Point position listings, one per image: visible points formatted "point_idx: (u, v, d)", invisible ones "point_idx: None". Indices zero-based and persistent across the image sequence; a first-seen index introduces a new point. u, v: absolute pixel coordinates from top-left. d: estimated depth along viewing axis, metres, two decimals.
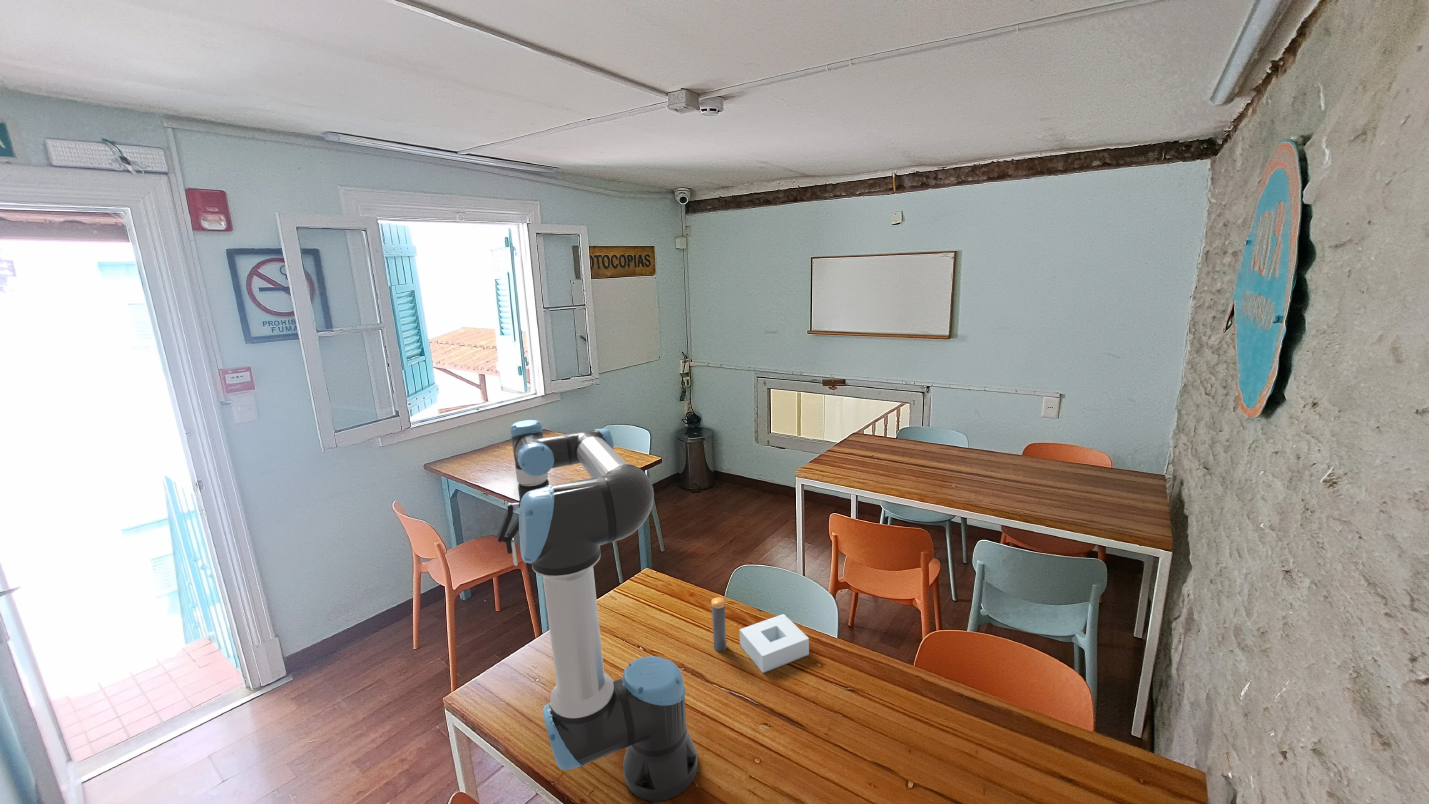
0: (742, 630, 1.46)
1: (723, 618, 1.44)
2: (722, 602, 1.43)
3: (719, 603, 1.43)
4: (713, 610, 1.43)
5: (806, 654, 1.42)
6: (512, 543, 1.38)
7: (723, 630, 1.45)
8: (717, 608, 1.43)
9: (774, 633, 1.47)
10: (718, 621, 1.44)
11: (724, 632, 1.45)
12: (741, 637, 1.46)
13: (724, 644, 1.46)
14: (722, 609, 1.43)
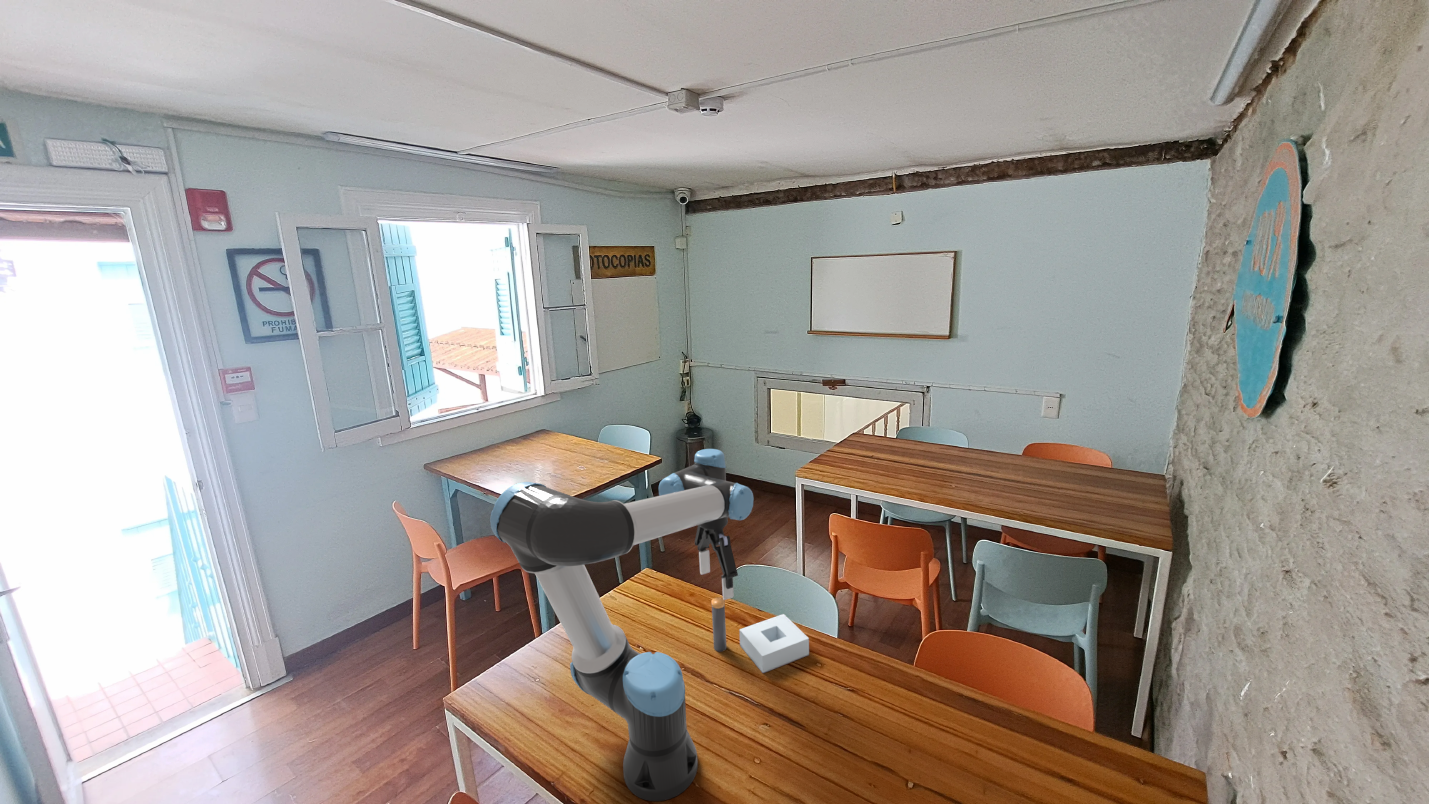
0: (742, 630, 1.46)
1: (723, 618, 1.44)
2: (722, 602, 1.43)
3: (719, 603, 1.43)
4: (713, 610, 1.43)
5: (806, 654, 1.42)
6: (699, 553, 1.47)
7: (723, 630, 1.45)
8: (717, 608, 1.43)
9: (774, 633, 1.47)
10: (718, 621, 1.44)
11: (724, 632, 1.45)
12: (741, 637, 1.46)
13: (724, 644, 1.46)
14: (722, 609, 1.43)
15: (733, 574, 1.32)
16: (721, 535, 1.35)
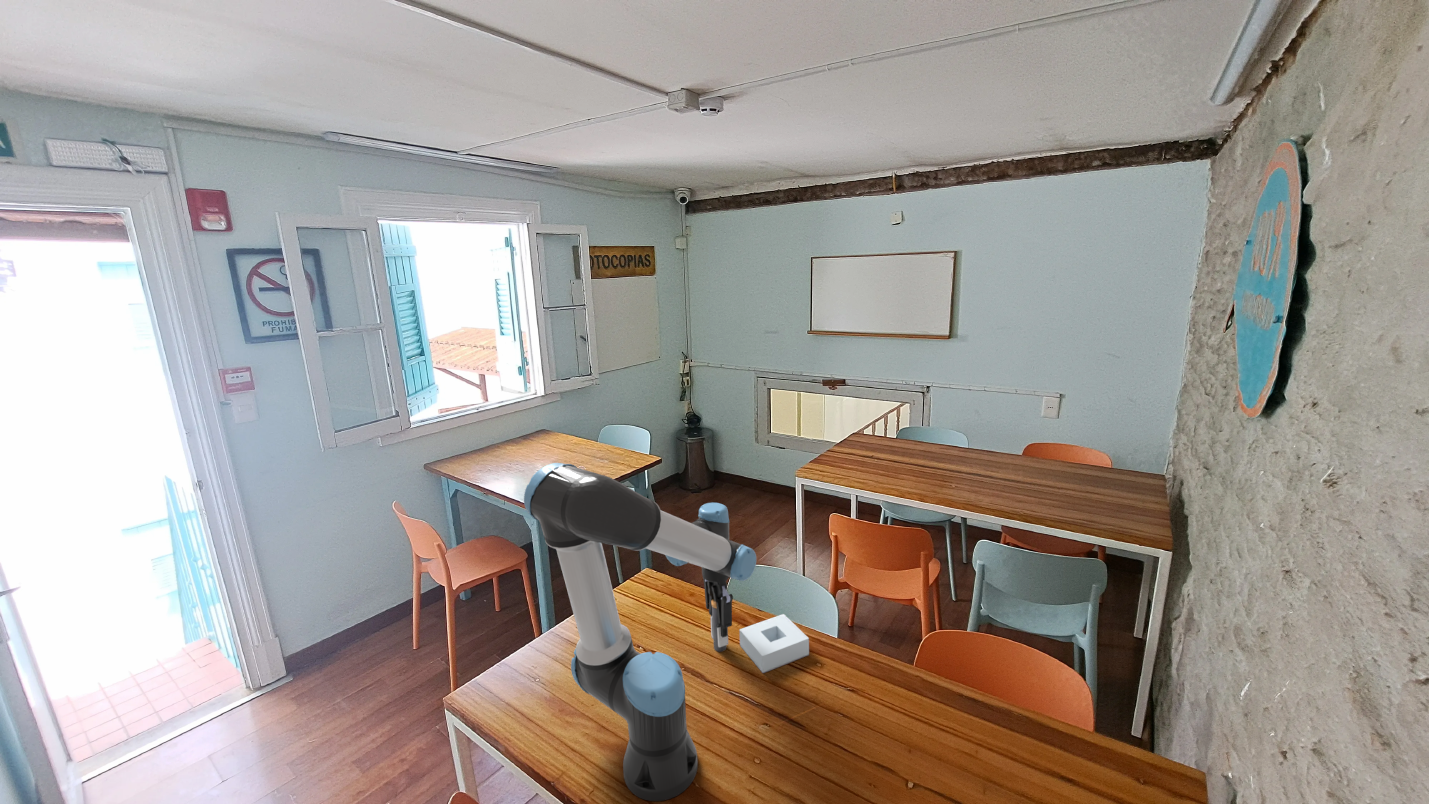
0: (742, 630, 1.46)
1: None
2: None
3: None
4: (713, 610, 1.43)
5: (806, 654, 1.42)
6: (710, 617, 1.47)
7: None
8: None
9: (774, 633, 1.47)
10: None
11: None
12: (741, 637, 1.46)
13: None
14: None
15: (727, 625, 1.40)
16: (725, 591, 1.39)
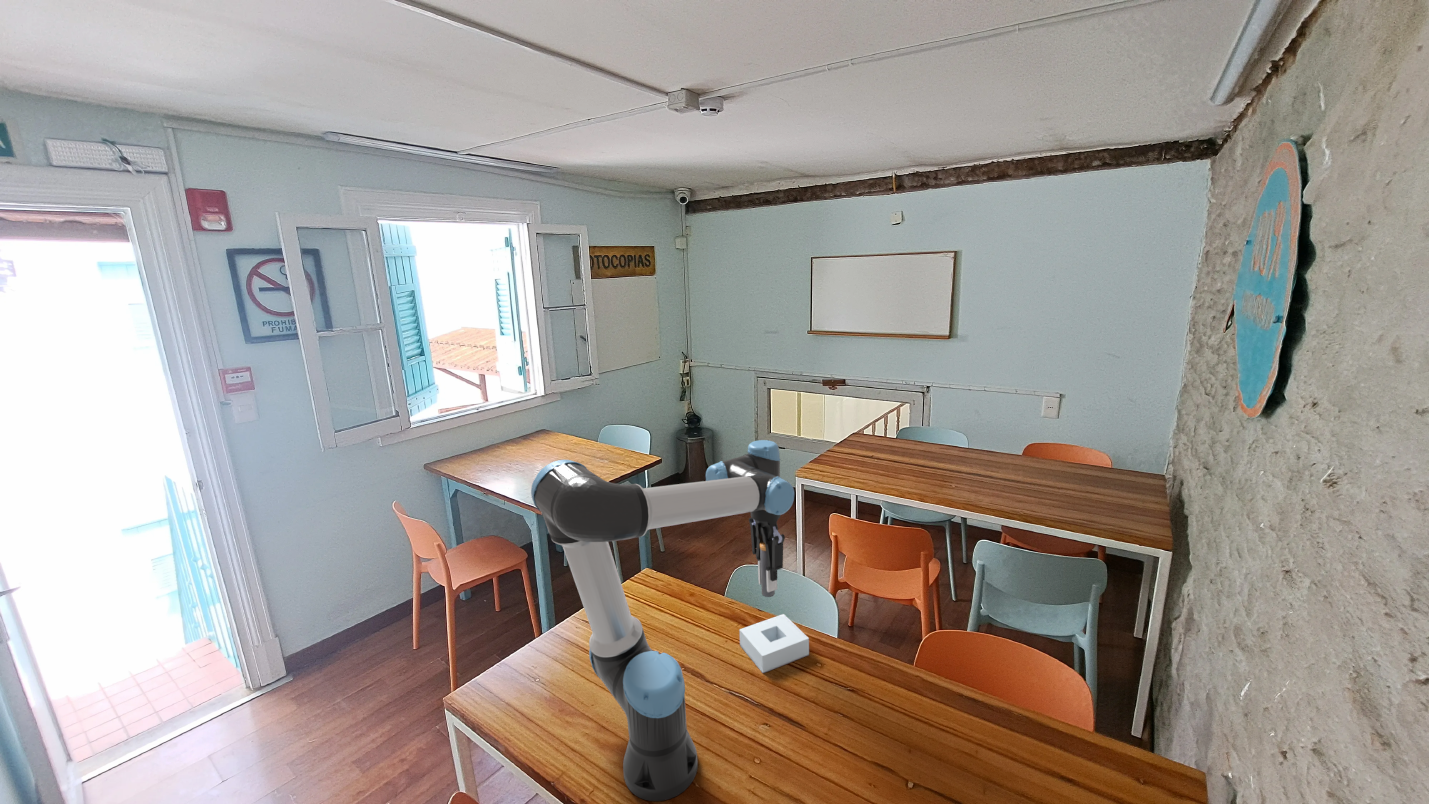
0: (742, 630, 1.46)
1: None
2: None
3: None
4: (762, 553, 1.38)
5: (806, 654, 1.42)
6: (758, 562, 1.41)
7: None
8: None
9: (774, 633, 1.47)
10: (767, 565, 1.38)
11: None
12: (741, 637, 1.46)
13: None
14: None
15: (778, 568, 1.35)
16: (776, 531, 1.33)
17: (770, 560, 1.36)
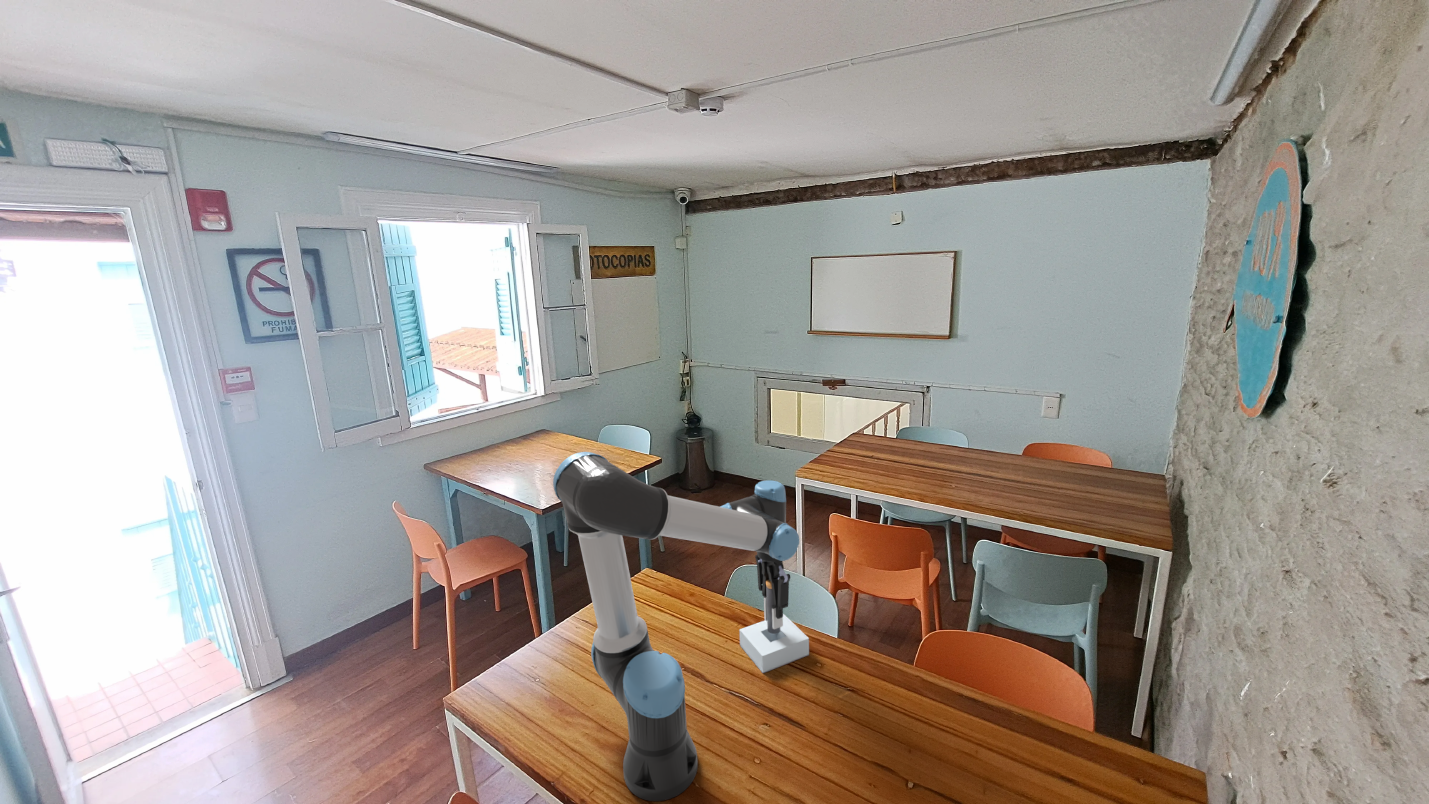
0: (742, 630, 1.46)
1: None
2: None
3: None
4: (768, 591, 1.40)
5: (806, 654, 1.42)
6: (764, 599, 1.43)
7: None
8: None
9: None
10: (773, 603, 1.40)
11: None
12: (741, 637, 1.46)
13: None
14: None
15: (783, 606, 1.37)
16: (782, 570, 1.35)
17: (776, 598, 1.38)
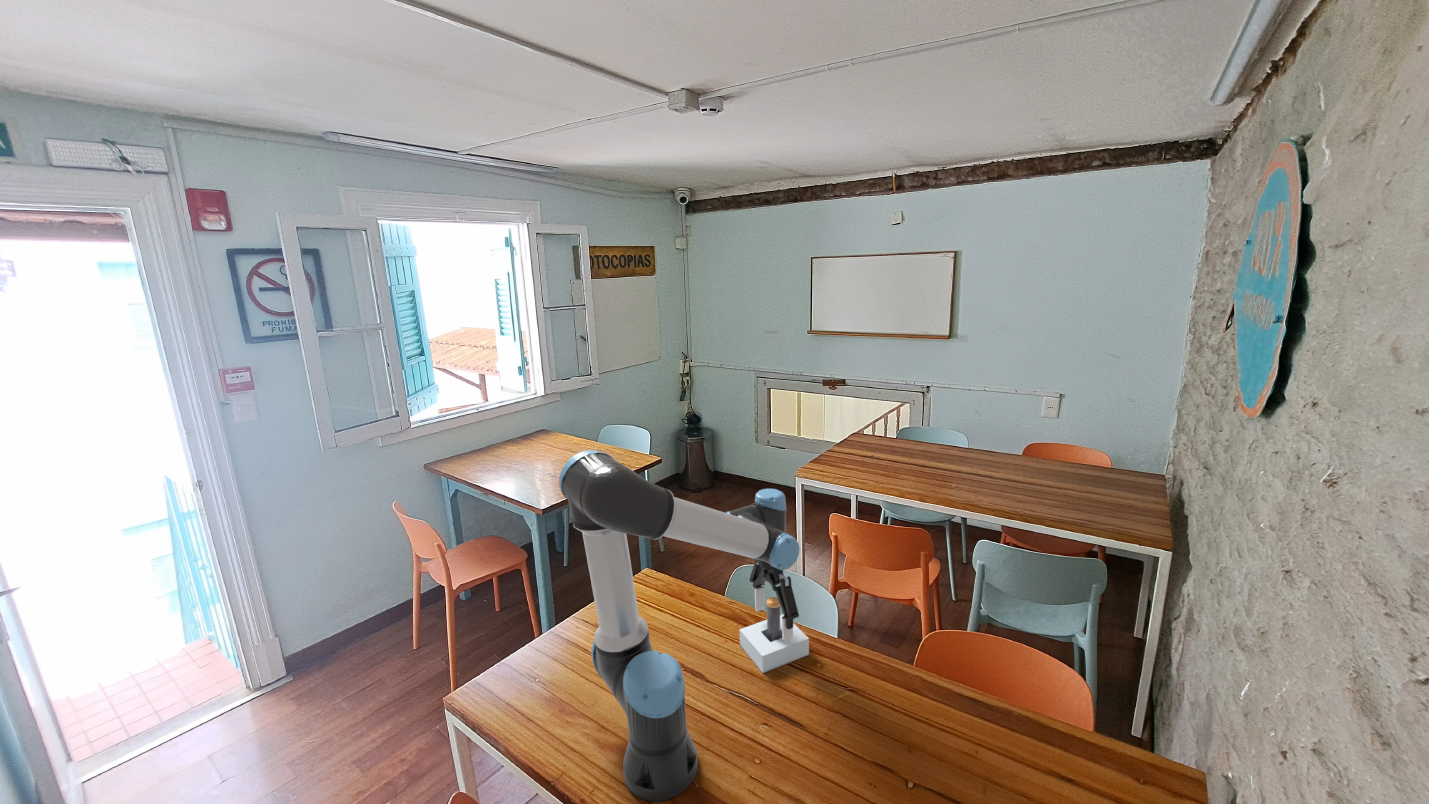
0: (742, 630, 1.46)
1: (779, 618, 1.42)
2: (778, 602, 1.42)
3: (775, 603, 1.41)
4: (768, 610, 1.42)
5: (806, 654, 1.42)
6: (755, 590, 1.47)
7: (778, 630, 1.43)
8: (773, 608, 1.41)
9: None
10: (773, 621, 1.42)
11: (779, 633, 1.43)
12: (741, 637, 1.46)
13: None
14: (778, 609, 1.41)
15: (794, 616, 1.33)
16: (781, 575, 1.36)
17: (784, 606, 1.35)
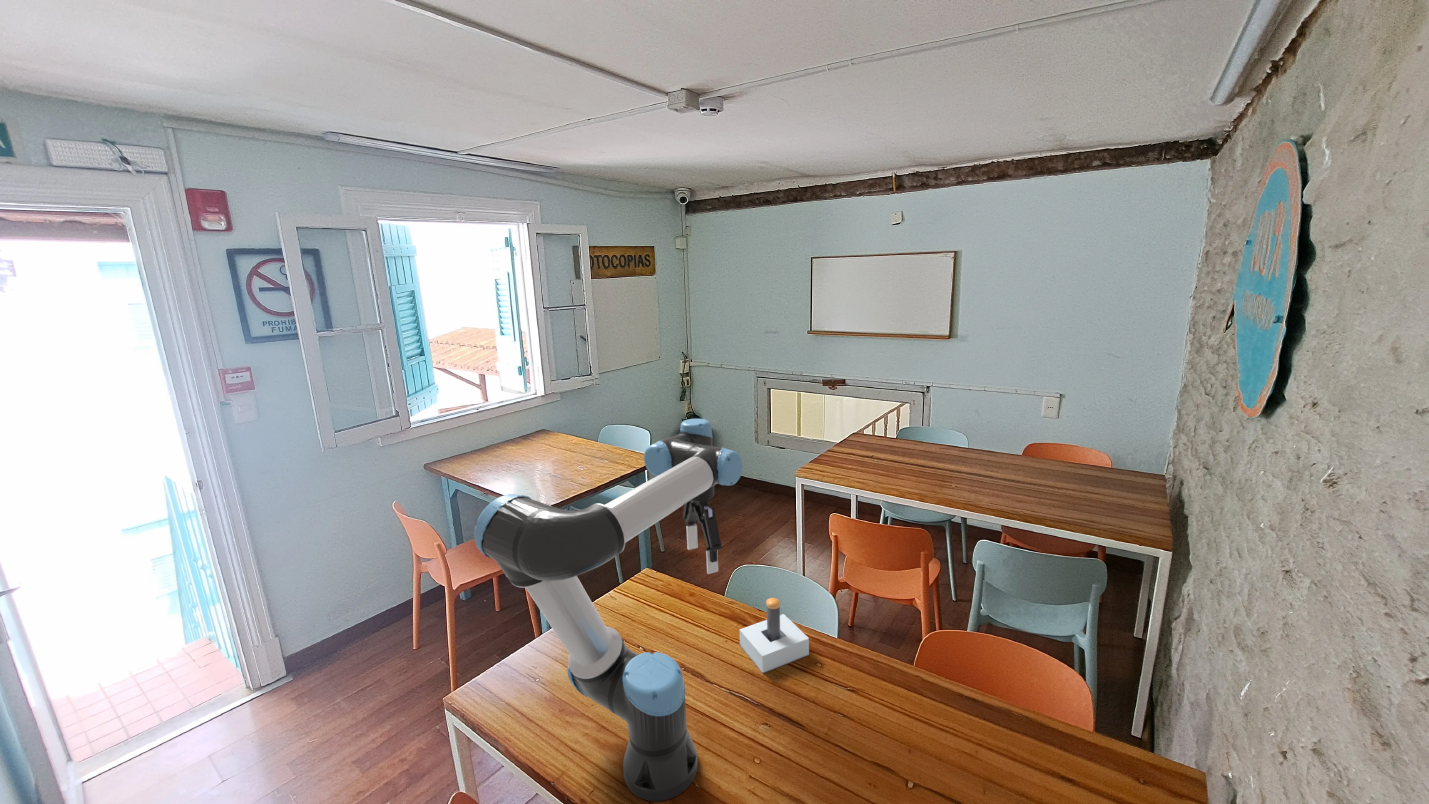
0: (742, 630, 1.46)
1: (779, 618, 1.42)
2: (777, 602, 1.41)
3: (775, 603, 1.41)
4: (768, 611, 1.41)
5: (806, 654, 1.42)
6: (686, 527, 1.44)
7: (778, 631, 1.42)
8: (773, 608, 1.41)
9: None
10: (773, 622, 1.41)
11: (779, 633, 1.43)
12: (741, 637, 1.46)
13: None
14: (777, 610, 1.41)
15: (716, 547, 1.29)
16: (706, 507, 1.32)
17: (707, 538, 1.31)
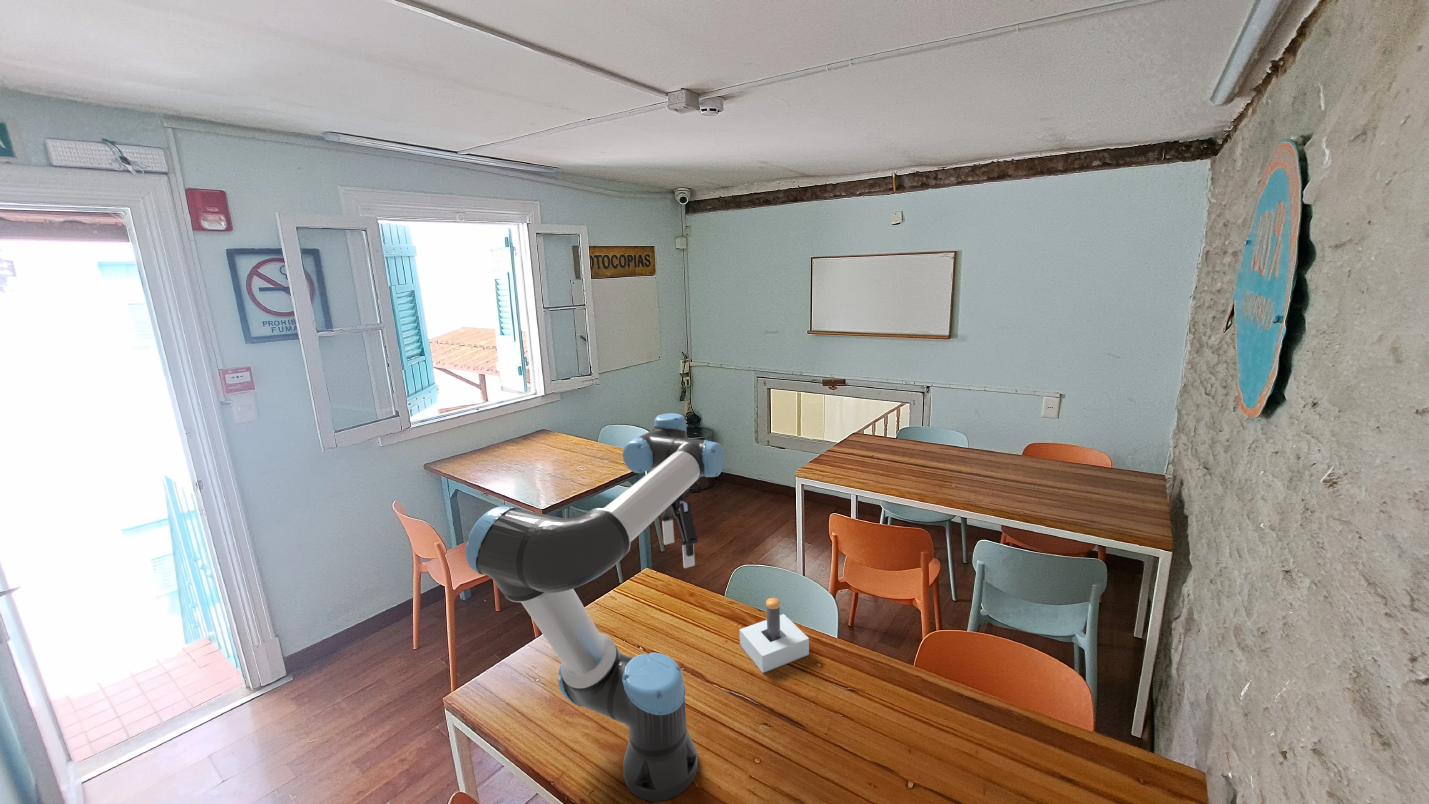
0: (742, 630, 1.46)
1: (778, 619, 1.42)
2: (777, 603, 1.41)
3: (774, 604, 1.41)
4: (768, 611, 1.41)
5: (806, 654, 1.42)
6: (662, 522, 1.44)
7: (778, 631, 1.42)
8: (773, 609, 1.40)
9: None
10: (773, 622, 1.41)
11: (779, 633, 1.43)
12: (741, 637, 1.46)
13: None
14: (777, 610, 1.41)
15: (692, 541, 1.29)
16: (681, 501, 1.32)
17: (683, 533, 1.31)
